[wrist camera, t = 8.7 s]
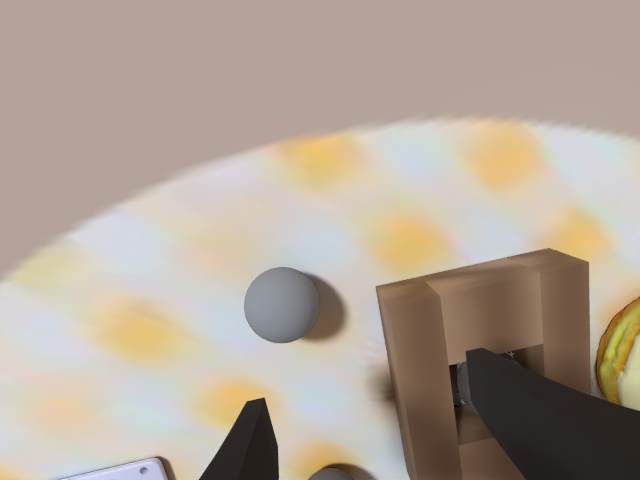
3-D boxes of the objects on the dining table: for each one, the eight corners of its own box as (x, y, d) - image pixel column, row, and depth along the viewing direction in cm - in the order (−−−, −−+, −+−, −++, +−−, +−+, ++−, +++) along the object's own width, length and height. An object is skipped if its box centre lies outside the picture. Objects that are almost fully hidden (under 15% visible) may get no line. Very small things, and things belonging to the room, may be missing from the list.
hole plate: (407, 470, 25) (422, 512, 22) (375, 286, 22) (389, 306, 19) (556, 434, 25) (591, 470, 22) (548, 248, 22) (588, 262, 19)
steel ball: (448, 399, 24) (485, 446, 20) (441, 346, 23) (478, 384, 19) (503, 383, 24) (549, 425, 20) (498, 330, 23) (546, 364, 19)
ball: (257, 328, 22) (250, 366, 18) (240, 266, 21) (230, 292, 17) (322, 313, 22) (329, 348, 18) (308, 251, 21) (313, 273, 17)
